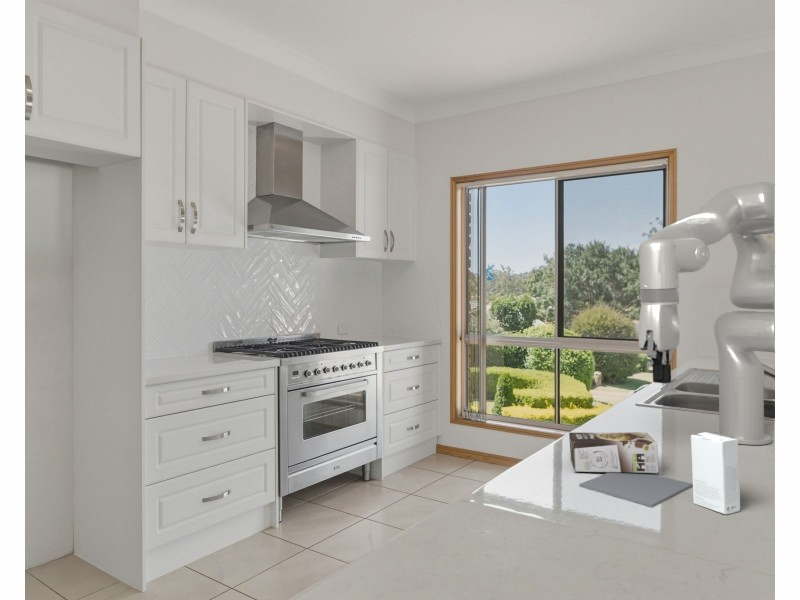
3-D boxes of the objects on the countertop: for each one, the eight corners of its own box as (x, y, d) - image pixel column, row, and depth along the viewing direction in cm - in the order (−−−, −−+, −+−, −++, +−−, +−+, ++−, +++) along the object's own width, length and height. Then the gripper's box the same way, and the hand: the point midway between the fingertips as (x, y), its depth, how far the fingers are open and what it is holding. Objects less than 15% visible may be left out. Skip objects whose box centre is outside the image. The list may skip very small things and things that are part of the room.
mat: (622, 468, 117) (622, 466, 117) (692, 486, 106) (692, 484, 106) (579, 486, 107) (579, 484, 107) (651, 507, 96) (651, 504, 96)
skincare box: (741, 511, 94) (741, 438, 94) (724, 516, 92) (723, 442, 92) (707, 499, 99) (707, 430, 99) (690, 503, 97) (689, 433, 97)
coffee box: (657, 441, 111) (572, 441, 114) (659, 474, 111) (574, 473, 114) (646, 431, 120) (568, 431, 123) (648, 461, 120) (569, 460, 123)
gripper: (657, 295, 128) (660, 375, 129) (625, 299, 119) (628, 385, 119) (692, 295, 123) (694, 379, 123) (661, 299, 113) (664, 390, 114)
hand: (662, 382), depth 121 cm, fingers closed
